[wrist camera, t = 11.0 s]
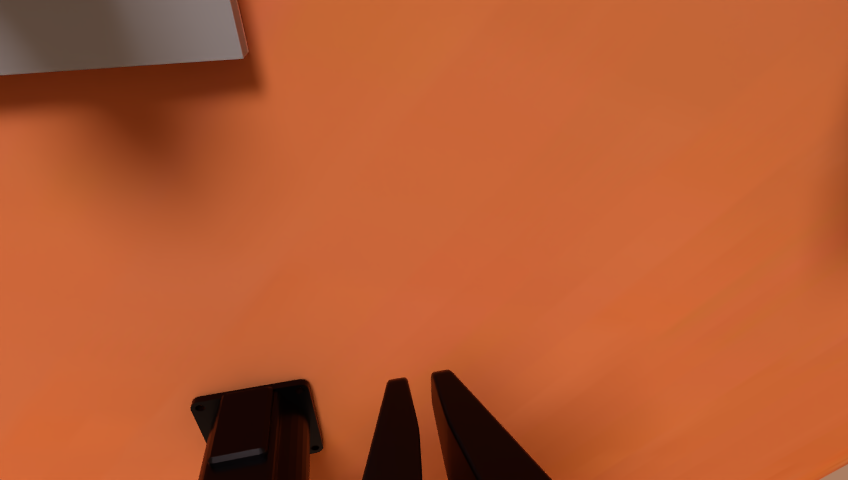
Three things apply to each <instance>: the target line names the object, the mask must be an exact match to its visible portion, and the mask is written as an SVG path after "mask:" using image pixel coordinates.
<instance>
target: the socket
mask: <svg viewBox="0 0 848 480" xmlns="http://www.w3.org/2000/svg"><path fill="white" fill-rule="evenodd" d="M248 52H249V50H248V46H247V41H246V37H245V32H244V28H243V23H242V19H241V14H240V10H239V5H238V1H237V0H0V75H12V74H27V73H41V72H56V71H70V70H85V69H99V68H114V67H129V66H143V65H158V64H172V63H187V62H201V61H216V60H230V59H243V58H244V57H245V56H246V55H247V53H248Z"/></svg>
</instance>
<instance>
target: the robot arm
mask: <svg viewBox="0 0 848 480" xmlns="http://www.w3.org/2000/svg"><path fill="white" fill-rule="evenodd" d="M431 392H432V405H433V410H434V415H435V420H436V425H437V430H438V435H439V439H440V444H441V449H442V454H443V459H444V464H445V468H446V472H447V477H448V480H552V479H551V478H550V477H549V476H548V475H547V474H546V473H545V472H544V471H543V470H542V468H541V467H540V466H539V465H538V464H537V463H536V462H535V461H534V460H533V459H532V458H531V457H530V455H529V454H528V453H527V452H526V451H525V450H524V449H523V448H522V447H521V446H520V445H519V444H518V442H517V441H516V440H515V439H514V438H513V437H512V436H511V435H510V434H509V433H508V432H507V431H506V430H505V428H504V427H503V426H502V425H501V424H500V423H499V422H498V421H497V420H496V419H495V418H494V417H493V415H492V414H491V413H490V412H489V411H488V410H487V409H486V408H485V407H484V406H483V405H482V404H481V403H480V401H479V400H478V399H477V398H476V397H475V396H474V395H473V394H472V393H471V392H470V391H469V390H468V388H467V387H466V386H465V385H464V384H463V383H462V382H461V381H460V380H459V379H458V378H457V377H456V376H455V374H454V373H453V372H452V371H450V370H443V371H437V372H433V373H432V374H431ZM191 411H192V413H193V416H194V418H195V420H196V422H197V424H198V426H199V428H200V430H201V433H202V435H203V437H204V439H205V441H206V443H207V445H206V449H205V453H204V458H203V462H202V466H201V471H200V475H199V479H198V480H309V467H310V454H312V453H317V452H320V451H321V450H322V449H323V439H322V435H321V431H320V427H319V423H318V419H317V415H316V411H315V407H314V402H313V398H312V394H311V390H310V386H309V383H308V382H307V381H306V380H303V379H298V380H293V381H287V382H281V383H275V384H269V385H264V386H258V387H252V388H246V389H240V390H235V391H229V392H223V393H217V394H211V395H206V396H200V397H196V398H195V399H193V401H192V404H191ZM362 480H422V465H421V449H420V434H419V427H418V421H417V417H416V413H415V409H414V405H413V400H412V396H411V392H410V388H409V384H408V380H407V379H406V378H404V377H403V378H398V379H392V380H389V381H388V382H387V385H386V389H385V393H384V397H383V401H382V405H381V408H380V412H379V416H378V420H377V424H376V428H375V432H374V436H373V439H372V443H371V447H370V451H369V455H368V459H367V463H366V467H365V471H364V474H363V478H362Z"/></svg>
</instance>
